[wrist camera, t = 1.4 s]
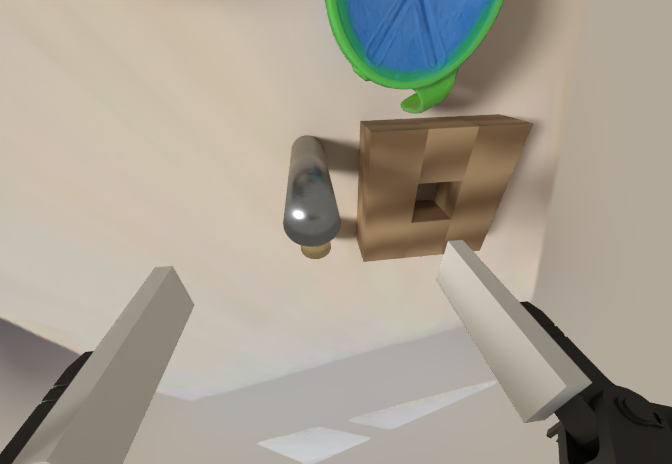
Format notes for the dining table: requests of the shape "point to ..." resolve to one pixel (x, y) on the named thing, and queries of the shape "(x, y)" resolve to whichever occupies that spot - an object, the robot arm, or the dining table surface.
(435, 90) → the snack cup
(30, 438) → the robot arm
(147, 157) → the dining table surface
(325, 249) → the short brass pin
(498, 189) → the hole block
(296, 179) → the long steel pin
